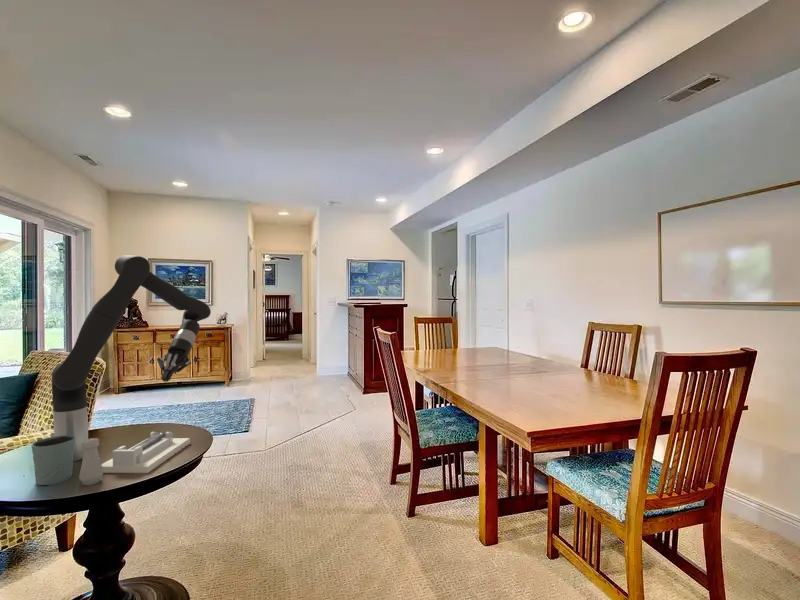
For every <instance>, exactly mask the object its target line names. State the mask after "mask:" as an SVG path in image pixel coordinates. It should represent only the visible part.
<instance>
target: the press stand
mask: <svg viewBox="0 0 800 600" xmlns="http://www.w3.org/2000/svg"><path fill="white" fill-rule="evenodd" d="M157 433H158V432H157V431H151V432H150V434H149V437H148V438H150V437H152V436H153V435H155V434H157ZM165 433H166V434H165V436H164V437H163V438H161V439H160V440H158V441H156V442H155V443H153V444H152V445H150V446H148V447H147V448H145V449H144V450H143V446H137V445H138V444H140V443H142V442H143V441H145V440H147V439H148V438H146V439H144V440H142V441H141V442H138V443H137V444H135V445H134V446H132V447H130V448H128V449H127V445H121V446H120V447H117V448H116V449H114V450H112V458H110V459H108V460H107V461H105V462H103V463H101V465H102V470H103V474H105V473H106V474H108V473H109V474H111V473H112V474H115V473H116V474H119V473H121V474H123V473H124V474H148V473H149V472H151V471H153V470H154V469H156V468H157V467H158V466H160V465H161V464H162V463H164V462H165V461H167V460H168V459H169V458H171V457H173V456H174V455H176V454H177V453H178V452H180V451H181V450H183V449H184V448H186V447H187V446H188V445H190V443H191V439H190V438H189V437H184V438H183V437H181V438H180V437H179V438H178V437H173V435H174V434H173V431H165ZM135 446H137V447H136V448H134V449H133V450H130V449H131V448H133V447H135ZM185 446H186V447H185ZM182 448H183V449H182ZM175 453H176V454H175Z"/></svg>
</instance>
